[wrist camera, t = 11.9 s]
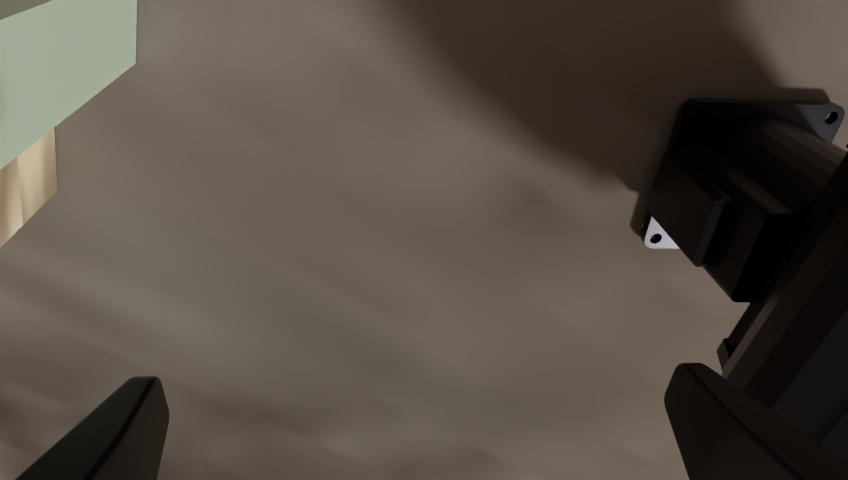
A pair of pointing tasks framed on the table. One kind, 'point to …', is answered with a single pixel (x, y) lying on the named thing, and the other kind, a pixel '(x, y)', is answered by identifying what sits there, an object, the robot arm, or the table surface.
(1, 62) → the tall green pillar
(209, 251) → the table surface
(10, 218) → the birch rail
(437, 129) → the table surface
